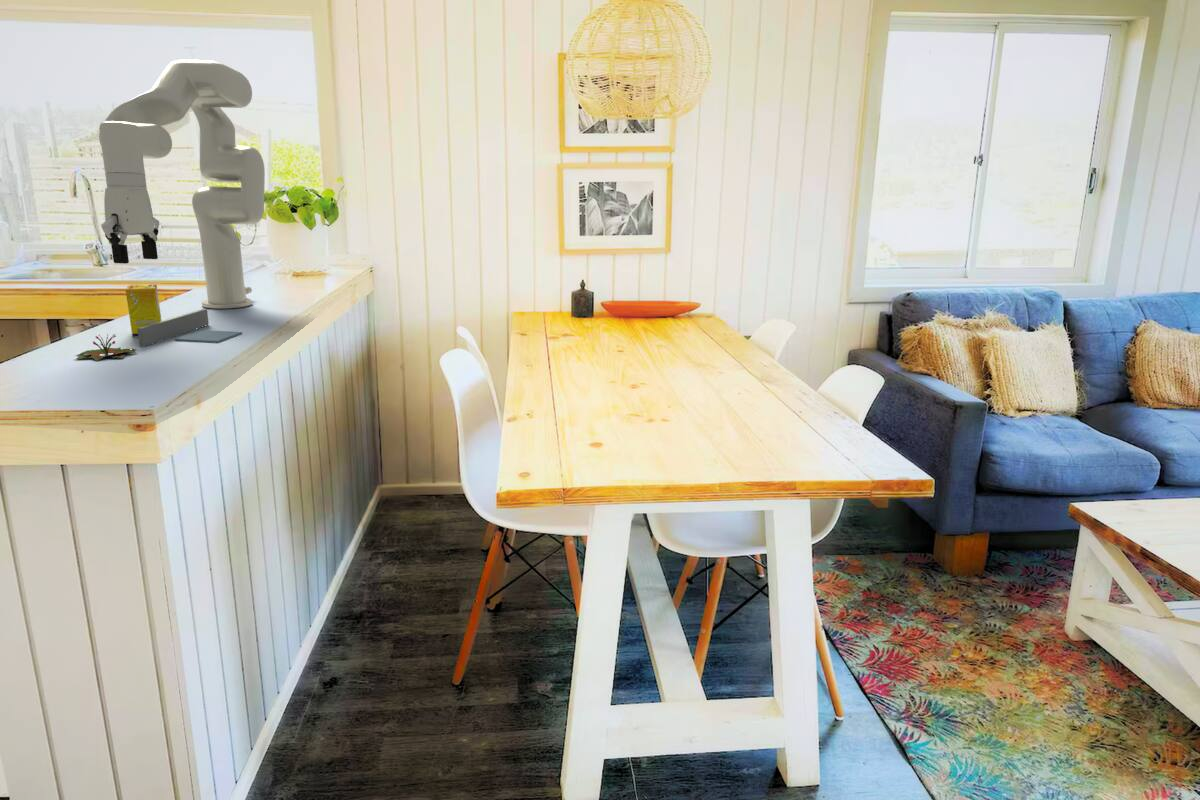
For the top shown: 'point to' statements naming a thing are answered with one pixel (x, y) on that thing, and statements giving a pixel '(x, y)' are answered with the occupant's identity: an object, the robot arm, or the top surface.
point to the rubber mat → (208, 336)
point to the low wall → (172, 327)
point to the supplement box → (142, 306)
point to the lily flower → (104, 350)
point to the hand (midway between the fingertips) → (136, 261)
